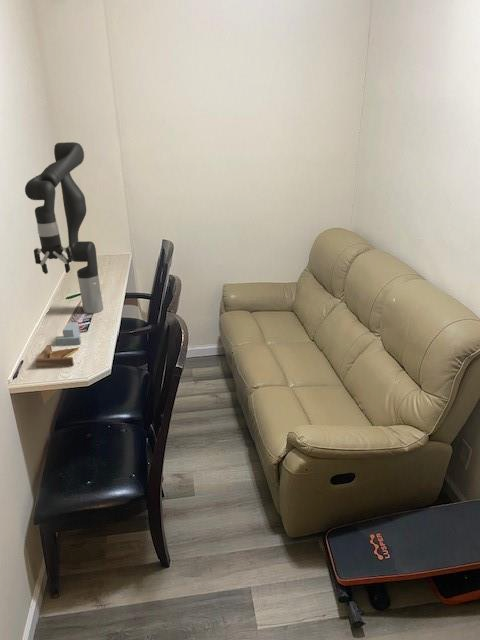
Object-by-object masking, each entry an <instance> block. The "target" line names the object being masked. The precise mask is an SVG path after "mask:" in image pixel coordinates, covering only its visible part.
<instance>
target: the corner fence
mask: <svg viewBox="0 0 480 640" xmlns="http://www.w3.org/2000/svg"><path fill="white" fill-rule="evenodd" d="M52 351H53V348H52V345H51V344H47V345H45V347H44V348H43V350H42V351H41V352H40V353H39V355H38V356H37V358H36V359H35V365H36V366H35V367H36V368H37V369H45V368H61V367H63V368H64V367H73V366H74V365H75V364H74V357H73V356H67V357H63V358H49V357H50V353H51V352H52Z"/></svg>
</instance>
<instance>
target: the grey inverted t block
mask: <svg viewBox="0 0 480 640" xmlns="http://www.w3.org/2000/svg"><path fill="white" fill-rule="evenodd" d="M62 334H63V336H59V337H57V338H56V343H57V346H58V347H59V346H78V345H80V346H81V344H82V340H81V331H80V327H79V321H77V322H76V321H71V322H67V323H66V325H65V326H64V328H63V329H62Z"/></svg>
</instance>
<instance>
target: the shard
mask: <svg viewBox="0 0 480 640" xmlns="http://www.w3.org/2000/svg"><path fill="white" fill-rule="evenodd" d="M79 349H80V347H73V348H65V349H59V350H54V351H53V350H52V352H51V353H50V356H49V357H48V358H63V357H70V356H71V355H73V354H74V353H76V352H78V351H79Z"/></svg>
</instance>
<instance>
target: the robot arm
mask: <svg viewBox="0 0 480 640" xmlns="http://www.w3.org/2000/svg"><path fill="white" fill-rule="evenodd" d="M53 147H54V148H53V151H54V152H53V153H54V154H53V155H54V159H55V162H53V163H50V164H48V166H47V167H45V168H44V170H43V171H42V172H41V173H40V174H38V175H35V176H34V177H33V178H31V179H29V180H28V181H27V183H26V185H25V187H24V192H25V193H24V194H25V196H26V197H27V198H28V199H29V200H32V201H44V202H43V205H40V206H37V207H35V209H34V215H35V219H36V225H37V226H36V227H37V234H38V237H39V242H40V246H41V248H39V247H35V248H34V249H33V254H34V261H35V264H36V265H40V266H41V270H42V273H43V274H45V275H47V274H48V273H49V271H48V267H47V263H46V262H47V260H48V259H49V260H53V259H54V260H57V259H59V260H60V261H62V262H63V263H64V270H65V273H66V274H67V273H69V272H70V271H71V266H70V263H72V262H74V263H75V262H76V263H86V265H85V266H84V267H82V268H79V269H78V270H77V271H76V273H77V274H76V275H77V280H78V281H77V282H78V285H79V286H78V287H79V292H80V298H81V303H82V304H81V305H82V310H83V312H84V313H86V314H95V313H99V312H102V311H103V310H104V303H103V297H102V291H101V284H100V279H99V271H98V269H99V268H98V259H97V248H96V246H95V243H94V242H93V241H79V230H80V227H81V225H82V224H83V222H84V219H85V217H86V215H87V205H86V204H87V203H86V198H85V197H86V196H85V194H84V193H83V191H82V189H80V187H79V186H78V184H77V183H76V182H75V181H74V179H73V177H72V175H71V172H72V171H73V170H75V169H76V168H78V166H80V165H81V164H82V163H83V161H84V159H85V151H84V149H83V146H82V145H81V143H78V142H75V141H74V142H70V141H69V142H67V141H65V142H56V144H55V145H54V146H53ZM58 185H60V187H61V193H62V204H63V208H64V215H65V220H66V225H67V226H66V227H67V238H68V246H66V247H63V245H62V240H61V236H60V235H61V234H60V230H59V225H58V223H57V218H56V213H55V203H56V201H55V200H56V188H57V187H58ZM63 252H64V253H65V254H66V255H65V254H64V253H63ZM41 253H42V254H43V255H44V256H43V258H42V259H41V255H40V254H41ZM66 256H67V257H66Z"/></svg>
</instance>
